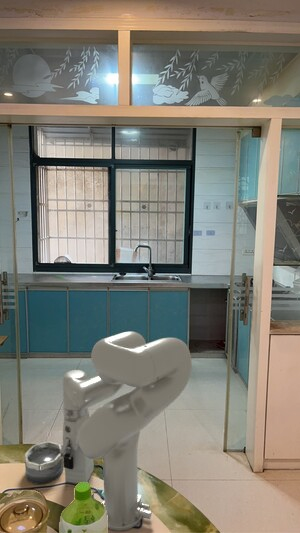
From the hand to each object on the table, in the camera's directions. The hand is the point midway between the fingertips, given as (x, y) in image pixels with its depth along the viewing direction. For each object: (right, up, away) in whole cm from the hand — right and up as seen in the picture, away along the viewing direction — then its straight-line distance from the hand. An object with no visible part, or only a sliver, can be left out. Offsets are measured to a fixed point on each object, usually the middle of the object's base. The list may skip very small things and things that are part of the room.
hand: (76, 457), depth 118 cm
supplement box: (+1, -6, +1) cm, 6 cm away
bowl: (-11, -6, +3) cm, 13 cm away
